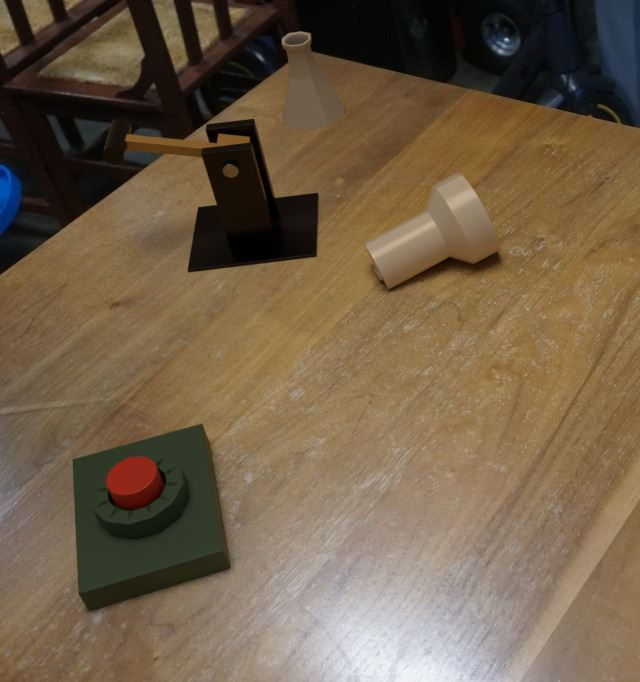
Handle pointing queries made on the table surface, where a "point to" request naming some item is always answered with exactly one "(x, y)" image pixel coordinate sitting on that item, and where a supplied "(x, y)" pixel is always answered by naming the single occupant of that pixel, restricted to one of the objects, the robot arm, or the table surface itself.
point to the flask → (307, 88)
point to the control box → (148, 521)
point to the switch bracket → (248, 208)
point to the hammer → (155, 143)
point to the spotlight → (435, 234)
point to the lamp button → (134, 483)
